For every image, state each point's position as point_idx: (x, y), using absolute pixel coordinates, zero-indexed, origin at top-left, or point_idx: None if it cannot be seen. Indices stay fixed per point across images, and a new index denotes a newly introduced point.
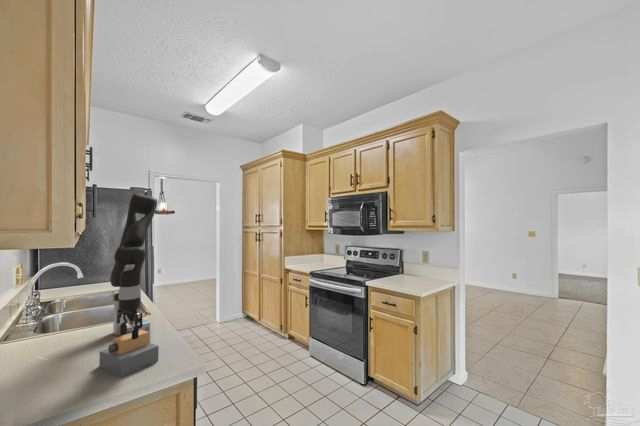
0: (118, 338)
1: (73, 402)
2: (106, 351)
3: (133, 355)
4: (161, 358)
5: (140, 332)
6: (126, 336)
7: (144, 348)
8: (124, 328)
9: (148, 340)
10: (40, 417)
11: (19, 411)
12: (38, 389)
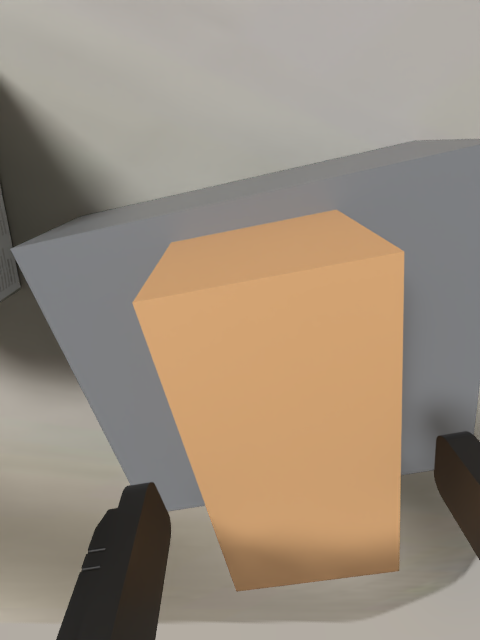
0: (274, 562)
1: (444, 529)
2: (192, 491)
3: (473, 394)
4: (398, 98)
5: (279, 355)
6: (285, 508)
7: (417, 284)
8: (140, 595)
9: (352, 221)
10: (440, 582)
11: (341, 606)
12: (219, 578)
